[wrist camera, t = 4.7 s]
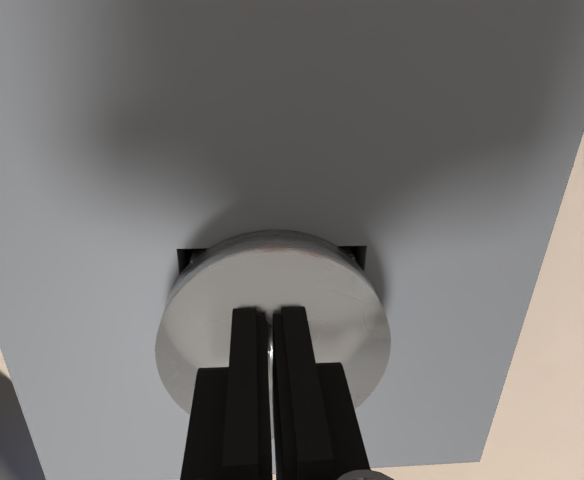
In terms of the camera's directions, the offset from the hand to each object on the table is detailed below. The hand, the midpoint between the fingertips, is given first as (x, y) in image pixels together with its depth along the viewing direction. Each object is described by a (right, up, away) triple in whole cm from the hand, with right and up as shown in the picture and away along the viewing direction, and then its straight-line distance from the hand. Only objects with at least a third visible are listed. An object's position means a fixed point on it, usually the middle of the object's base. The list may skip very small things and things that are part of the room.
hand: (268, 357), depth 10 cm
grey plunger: (0, +3, +6) cm, 6 cm away
